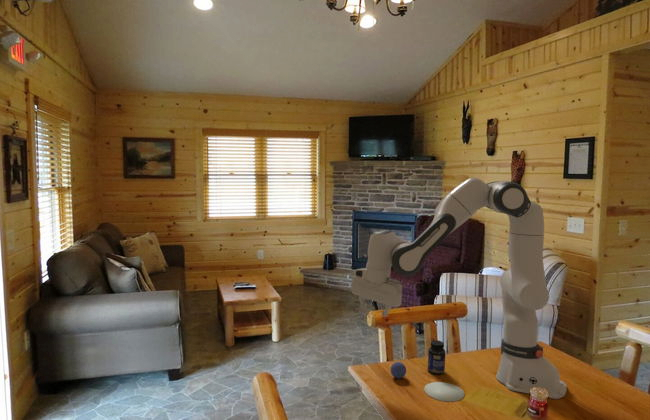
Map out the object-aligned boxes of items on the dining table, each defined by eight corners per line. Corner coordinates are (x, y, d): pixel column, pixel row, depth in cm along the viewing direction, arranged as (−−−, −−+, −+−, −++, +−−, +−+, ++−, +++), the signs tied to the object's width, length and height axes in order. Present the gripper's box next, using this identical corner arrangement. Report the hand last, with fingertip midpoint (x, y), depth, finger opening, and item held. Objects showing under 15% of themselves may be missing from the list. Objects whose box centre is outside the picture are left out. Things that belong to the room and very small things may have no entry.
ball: (408, 376, 163) (409, 362, 162) (401, 382, 158) (402, 367, 158) (394, 372, 166) (395, 358, 165) (387, 378, 161) (388, 363, 161)
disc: (469, 389, 154) (469, 389, 154) (456, 405, 143) (456, 405, 143) (433, 379, 161) (433, 378, 161) (418, 393, 151) (418, 392, 151)
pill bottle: (432, 376, 164) (433, 346, 163) (424, 368, 169) (425, 340, 168) (447, 374, 165) (449, 345, 164) (439, 367, 171) (440, 338, 170)
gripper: (407, 280, 158) (403, 318, 159) (360, 267, 171) (357, 303, 173) (397, 282, 153) (393, 322, 155) (350, 269, 167) (346, 306, 168)
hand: (373, 312), depth 164 cm, fingers open, 8 cm apart
